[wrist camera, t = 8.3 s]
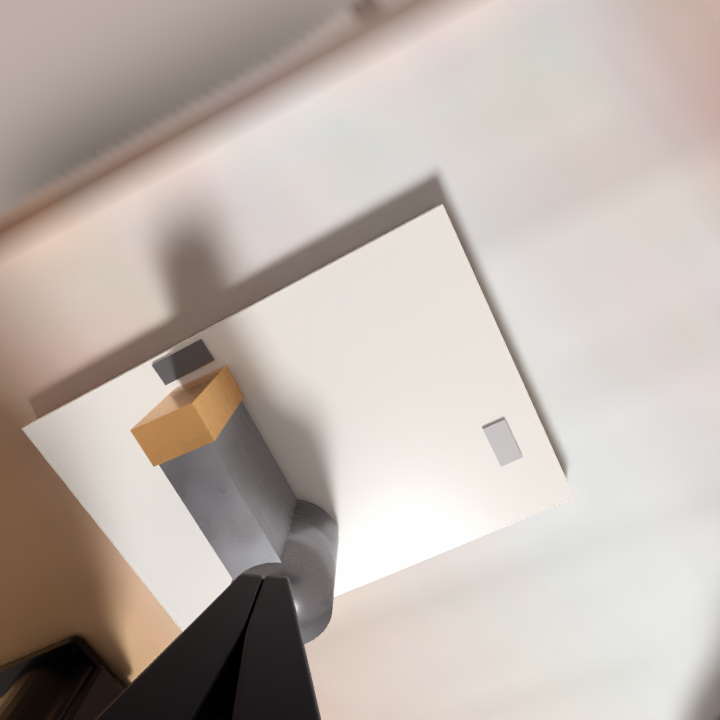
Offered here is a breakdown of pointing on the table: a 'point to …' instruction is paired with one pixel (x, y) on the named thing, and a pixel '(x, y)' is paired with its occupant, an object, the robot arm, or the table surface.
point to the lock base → (332, 419)
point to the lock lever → (242, 493)
